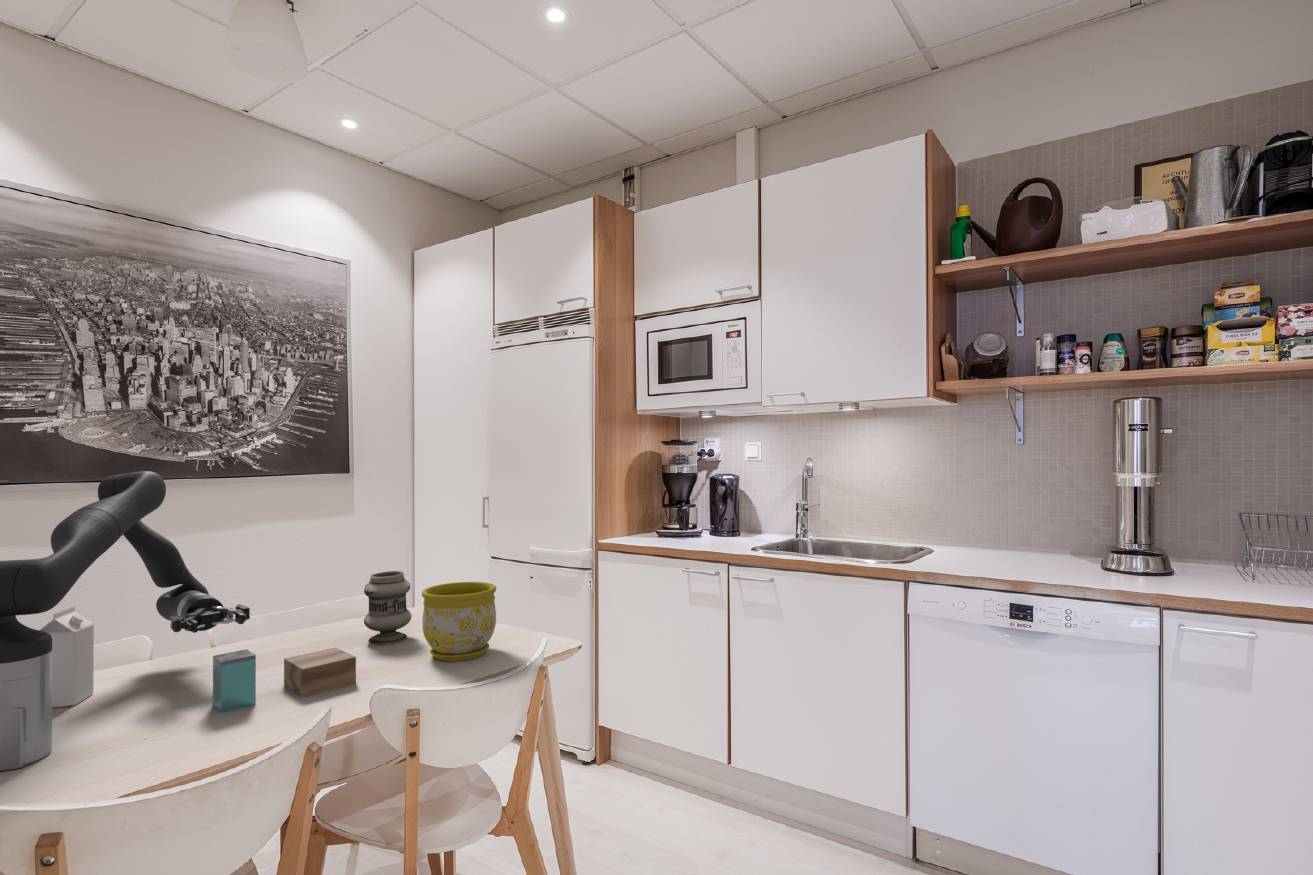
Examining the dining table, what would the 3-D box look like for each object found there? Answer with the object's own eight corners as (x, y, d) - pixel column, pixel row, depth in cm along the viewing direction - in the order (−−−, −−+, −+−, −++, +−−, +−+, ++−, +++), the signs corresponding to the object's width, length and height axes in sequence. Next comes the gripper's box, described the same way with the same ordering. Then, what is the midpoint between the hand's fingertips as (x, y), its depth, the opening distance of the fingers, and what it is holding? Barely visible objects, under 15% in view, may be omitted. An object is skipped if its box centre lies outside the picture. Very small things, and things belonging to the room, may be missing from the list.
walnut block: (355, 684, 146) (355, 656, 146) (302, 698, 138) (302, 669, 138) (335, 673, 154) (335, 647, 154) (284, 686, 145) (284, 658, 146)
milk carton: (32, 710, 133) (32, 615, 133) (53, 697, 140) (54, 607, 140) (74, 706, 135) (74, 612, 135) (93, 694, 142) (94, 604, 142)
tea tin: (255, 704, 134) (255, 654, 134) (221, 713, 130) (221, 661, 130) (246, 697, 138) (246, 649, 139) (212, 705, 134) (213, 655, 134)
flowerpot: (478, 666, 156) (478, 596, 157) (408, 663, 159) (407, 595, 159) (507, 644, 174) (507, 581, 174) (443, 642, 177) (443, 580, 177)
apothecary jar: (353, 644, 176) (353, 576, 177) (382, 632, 188) (382, 568, 188) (393, 647, 173) (393, 578, 174) (420, 634, 185) (420, 570, 185)
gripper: (162, 600, 148) (179, 612, 137) (235, 589, 159) (256, 599, 148) (162, 633, 148) (179, 648, 137) (235, 620, 159) (256, 633, 147)
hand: (219, 623), depth 142 cm, fingers open, 8 cm apart
